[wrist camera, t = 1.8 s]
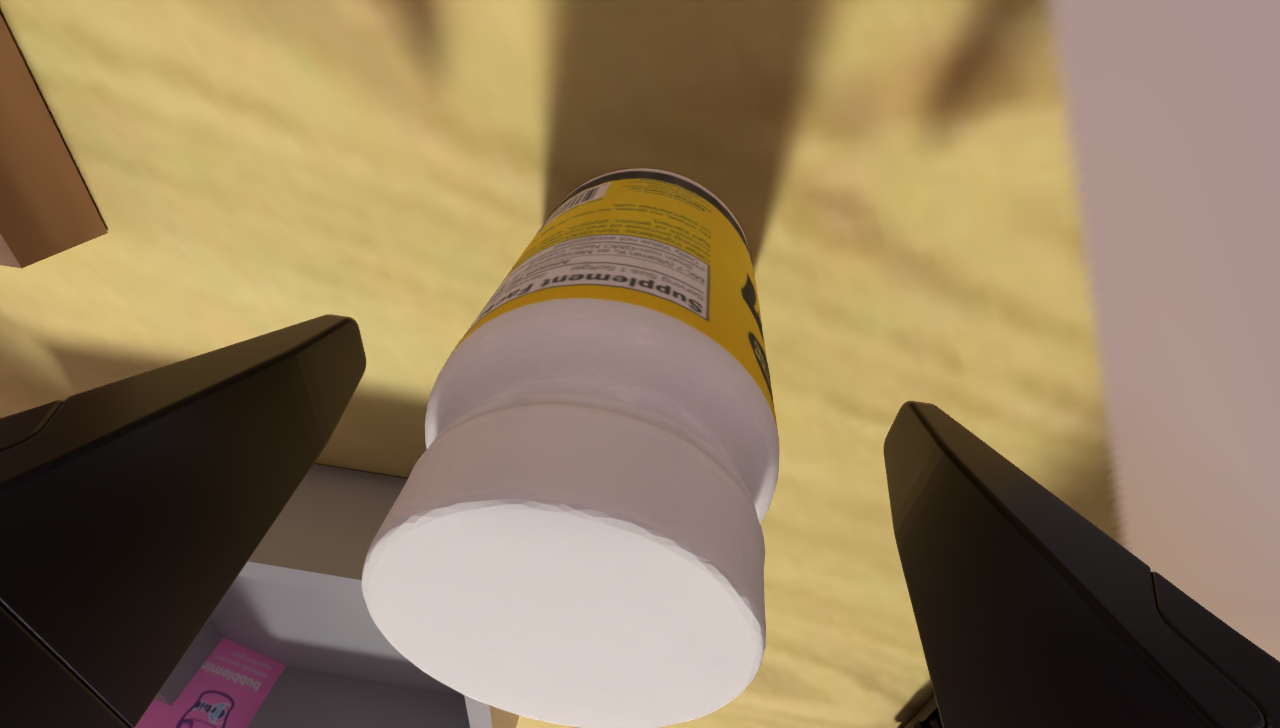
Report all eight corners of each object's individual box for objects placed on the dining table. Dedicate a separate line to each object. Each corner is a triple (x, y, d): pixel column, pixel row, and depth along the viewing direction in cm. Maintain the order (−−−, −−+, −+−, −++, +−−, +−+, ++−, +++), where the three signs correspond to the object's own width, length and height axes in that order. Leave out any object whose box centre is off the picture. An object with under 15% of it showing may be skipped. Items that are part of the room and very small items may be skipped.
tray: (515, 495, 17) (475, 599, 14) (524, 694, 25) (499, 786, 22) (98, 429, 17) (-23, 516, 15) (237, 645, 25) (176, 729, 22)
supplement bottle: (727, 373, 13) (741, 777, 7) (540, 343, 14) (364, 710, 7) (778, 179, 11) (893, 528, 4) (542, 144, 11) (244, 420, 4)
